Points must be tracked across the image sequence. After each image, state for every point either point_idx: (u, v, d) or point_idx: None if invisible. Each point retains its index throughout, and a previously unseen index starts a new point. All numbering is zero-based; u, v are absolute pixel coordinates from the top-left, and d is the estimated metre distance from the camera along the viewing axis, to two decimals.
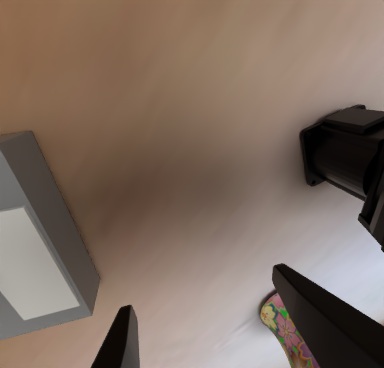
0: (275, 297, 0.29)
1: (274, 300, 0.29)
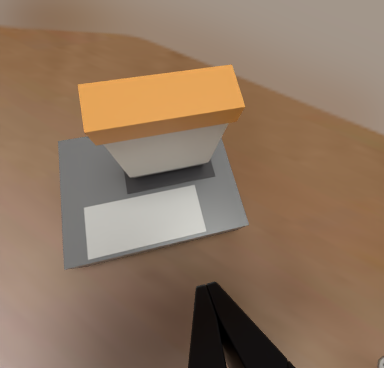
0: None
1: None
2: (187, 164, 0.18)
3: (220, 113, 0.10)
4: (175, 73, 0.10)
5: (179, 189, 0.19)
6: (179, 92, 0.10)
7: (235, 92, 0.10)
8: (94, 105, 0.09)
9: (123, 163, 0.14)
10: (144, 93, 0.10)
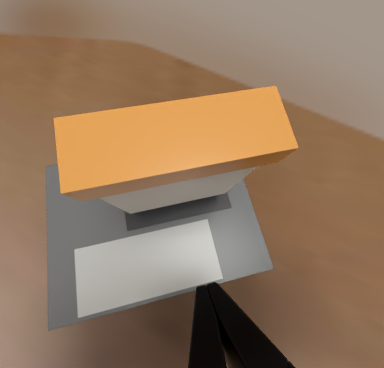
0: None
1: None
2: (200, 197, 0.15)
3: (262, 157, 0.07)
4: (197, 99, 0.07)
5: (189, 225, 0.16)
6: (203, 127, 0.07)
7: (283, 126, 0.07)
8: (77, 150, 0.06)
9: (122, 205, 0.11)
10: (152, 130, 0.07)
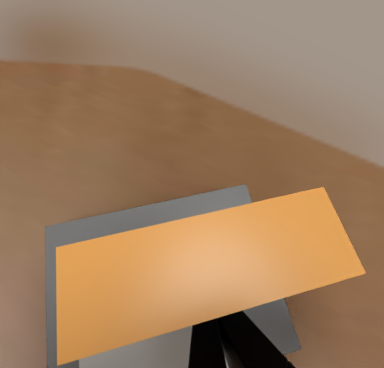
0: None
1: None
2: None
3: (318, 284, 0.05)
4: (231, 211, 0.06)
5: None
6: (241, 250, 0.05)
7: (341, 243, 0.06)
8: (83, 293, 0.05)
9: None
10: (178, 257, 0.05)
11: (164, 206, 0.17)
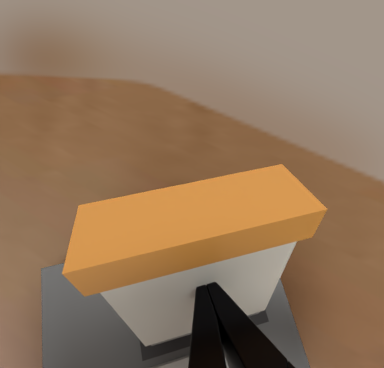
0: None
1: None
2: None
3: (289, 223, 0.06)
4: (209, 180, 0.07)
5: None
6: (218, 200, 0.07)
7: (301, 192, 0.07)
8: (92, 229, 0.06)
9: (134, 323, 0.09)
10: (167, 206, 0.07)
11: None
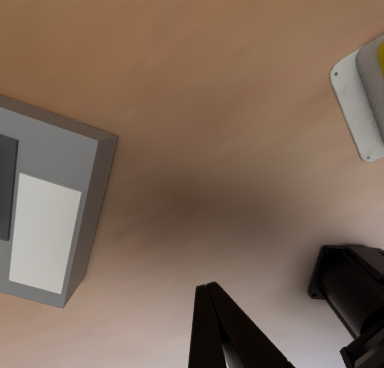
0: None
1: None
2: None
3: None
4: None
5: (19, 192, 0.15)
6: None
7: None
8: None
9: None
10: None
11: None
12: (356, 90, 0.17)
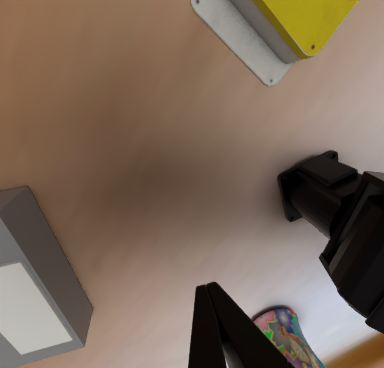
0: (261, 319, 0.30)
1: (260, 322, 0.30)
2: None
3: None
4: None
5: None
6: None
7: None
8: None
9: None
10: None
11: None
12: (228, 12, 0.15)
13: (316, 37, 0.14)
